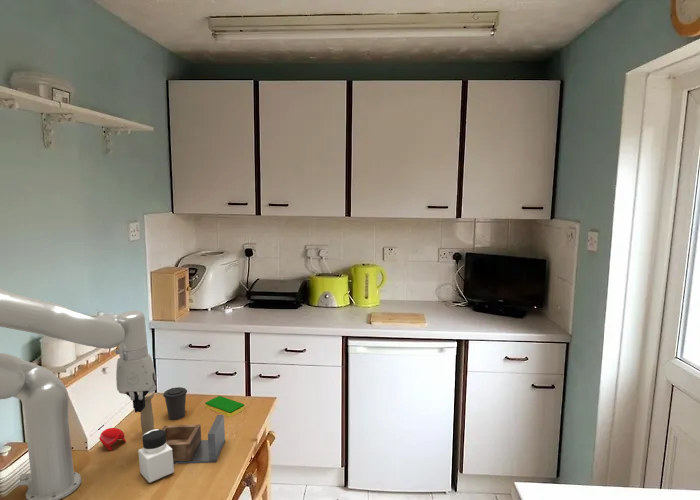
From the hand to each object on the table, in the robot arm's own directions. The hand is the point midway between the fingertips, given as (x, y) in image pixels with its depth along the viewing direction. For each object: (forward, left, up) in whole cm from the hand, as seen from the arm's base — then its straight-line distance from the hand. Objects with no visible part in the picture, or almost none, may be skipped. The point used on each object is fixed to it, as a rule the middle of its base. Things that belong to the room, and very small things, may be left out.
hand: (139, 410), depth 138 cm
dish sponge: (+19, +28, -15) cm, 37 cm away
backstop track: (+13, 0, -14) cm, 19 cm away
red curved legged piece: (-11, +5, -14) cm, 19 cm away
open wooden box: (+11, 0, -14) cm, 18 cm away
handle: (-2, +10, -14) cm, 18 cm away
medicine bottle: (+8, -11, -14) cm, 20 cm away
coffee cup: (+3, +23, -14) cm, 27 cm away
